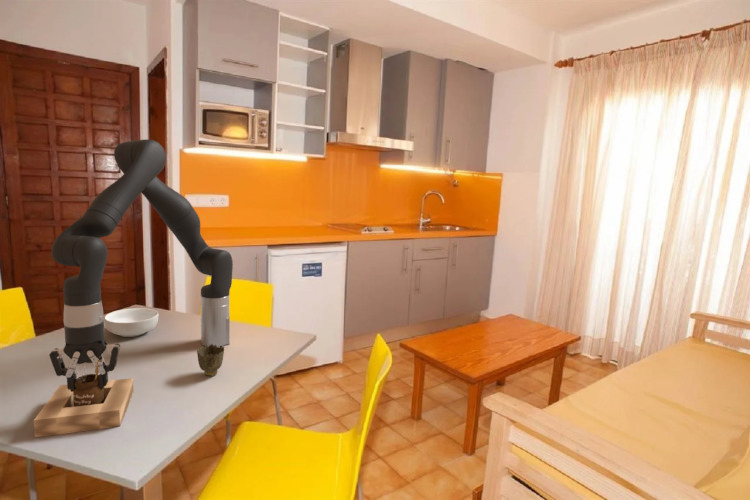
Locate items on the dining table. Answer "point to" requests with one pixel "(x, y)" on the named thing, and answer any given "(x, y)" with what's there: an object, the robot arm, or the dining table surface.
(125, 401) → the oak socket block
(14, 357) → the dining table surface
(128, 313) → the cereal bowl
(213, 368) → the cup
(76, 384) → the utensil holder
